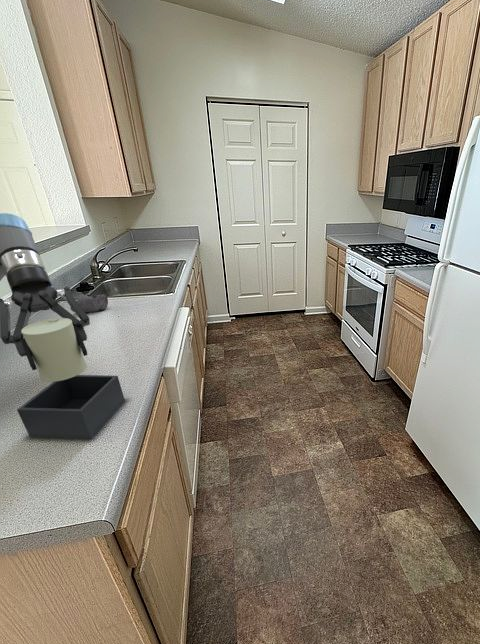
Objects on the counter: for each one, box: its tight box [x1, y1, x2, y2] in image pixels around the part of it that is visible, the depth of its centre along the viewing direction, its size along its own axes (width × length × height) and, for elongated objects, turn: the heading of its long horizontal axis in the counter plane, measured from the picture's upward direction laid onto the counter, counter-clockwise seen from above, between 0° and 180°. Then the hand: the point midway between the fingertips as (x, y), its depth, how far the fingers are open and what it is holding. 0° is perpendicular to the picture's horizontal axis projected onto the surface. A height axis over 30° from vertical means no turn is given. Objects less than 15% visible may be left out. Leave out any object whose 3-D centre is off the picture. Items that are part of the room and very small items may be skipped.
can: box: [21, 317, 88, 383], centre depth 74 cm, size 9×9×12 cm
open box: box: [16, 374, 126, 440], centre depth 80 cm, size 15×15×8 cm
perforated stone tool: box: [69, 293, 109, 314], centre depth 148 cm, size 15×5×7 cm, turn 119°
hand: (60, 360), depth 73 cm, fingers closed on can, 9 cm apart
